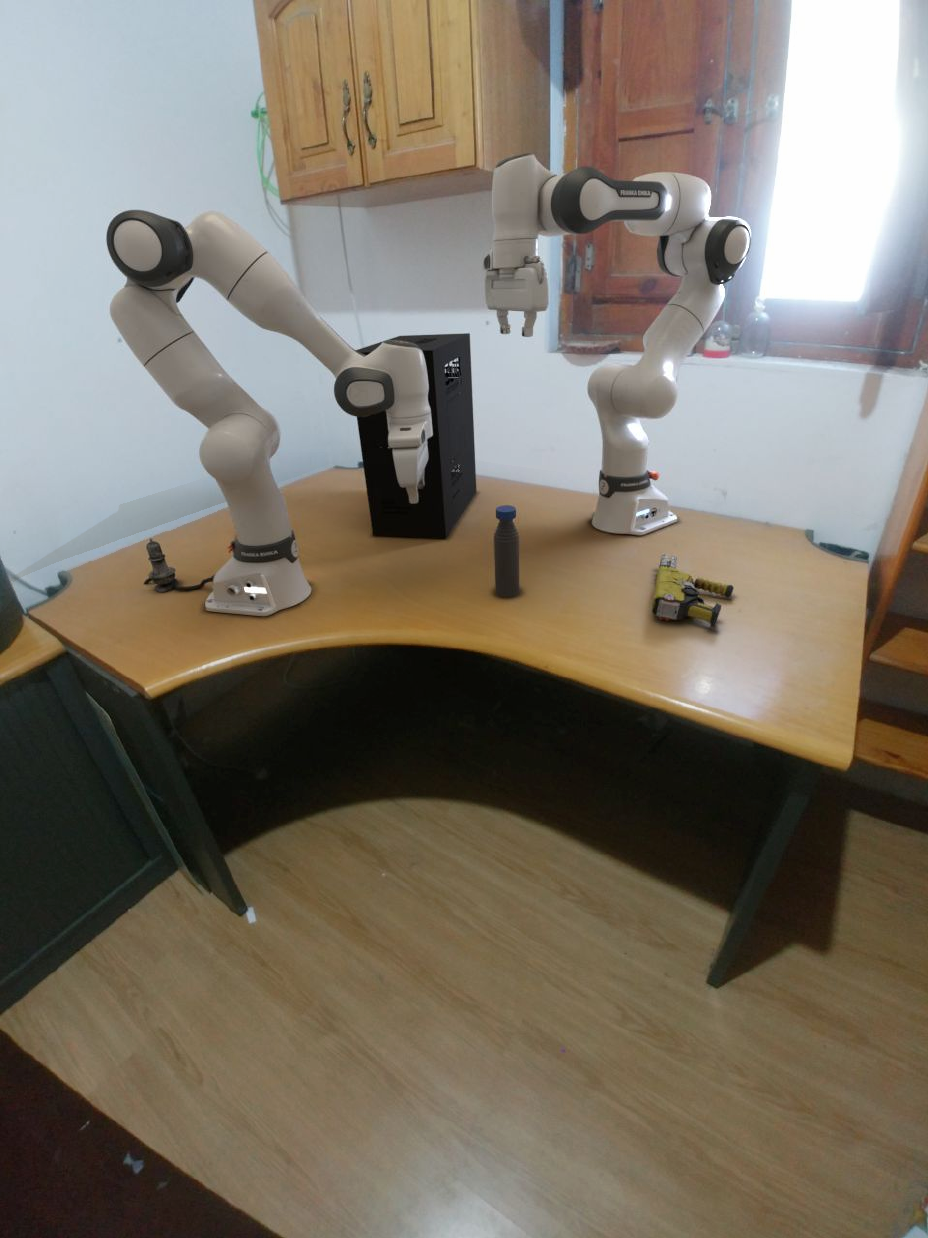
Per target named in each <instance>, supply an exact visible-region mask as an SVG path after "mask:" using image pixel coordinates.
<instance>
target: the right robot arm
mask: <svg viewBox="0 0 928 1238" xmlns="http://www.w3.org/2000/svg"><path fill="white" fill-rule="evenodd" d="M711 200H712V194H711V189H710V186H709V185H708V183H707V182H706V181H705V180H704V179H703V178H701V177H698V176H695V175H692V174H689V173H682V172H675V171H673V172H672V171H660V172H659V171H658V172H651V173H646V174H641V175H640V176H637V177H635V178H633V179H632V180H624V179H623V180H621V179H613V178H610V177H609V176H607V175H606V174H604V173H603V172H601V171H600V170H599V169H596V168H594V167H592V166H585V165H584V166H579V167H577V168H575V169H573V170H569V171H568V172H566V173H565V172H564V173H562V174H559V175H558V174H556V173H554V172H552V171H551V170H549V169H547V168H546V167H545V166H543V165H542V163H540V161H539V160H538V159H537V157H536V156H535V153H531V152H525V153H520V154H517V155H513V156H509V157H507V158H504V159H501V160H500V161H499V162H497V164H496V165H495V167H494V170H493V174H492V183H491V216H492V220H493V227H494V228H493V235H492V248H491V249H490V250H489V252H488V253H487V254H486V255H485V256H484V257H483V258H482V269H483V271H485V273H484V297H485V304H486V306H487V307H486V308H487V309H488V310H492V311H496V318H497V321H498V323H499V324H498V325H499V333H500V335H510V334H511V324H509V318H508V316H509V312H523V318H524V323H523V326H522V327H521V336H522V337H523V338H531V337H533V335H534V326H535V324H536V320H537V318H538V316H537V315H538V314H537V313H540V312H546V311H547V310H548V308H549V307H548V306H549V303H550V297H549V296H550V295H549V279H548V278H549V277H548V273H547V269H546V268H545V263H544V262H543V260H542V258H541V256H539V236H542V237H546V238H547V237H549V238H550V237H557V236H558V237H560V236H566V235H567V236H568V235H585V234H586V235H587V234H589V233H592V232H594V231H595V230H597V229H598V228H600V227H602V226H603V225H605V224H606V223H608V222H623V224H624V226H625V227H626V230H628V232H629V233H631V234H634V235H639V236H645V237H658V242H657V248H656V259H657V264H658V267H659V269H660V270H661V271H662V272H663V273H664V274H666V275H669V276H672V277H682V279H681V283H680V285H679V287H678V289H677V291H676V292H675V294H674V295H673V296H672V297H671V298H670V300H669V301H668V302H667V303H666V305H665V306H664V307H663V308H662V310H661V311H660V313H659V314H658V315H657V316H656V318H655V319H654V320H653V322H652V323H651V324H650V326H649V327H647V330H646V331H645V332H644V335H643V337H642V345H643V350H644V351H643V353H642V356H641V358H640V359H639V360H638V361H637V363H635V364H625V363H619V362H615V363H614V362H613V363H607V364H604V365H601V366H597V368H595V369H594V371H593V372H591V374H590V376H589V378H588V380H587V395H588V398H589V399H590V401H591V402H592V404H593V406H594V408H595V411H596V414H597V417H598V418H597V419H598V421H599V427H600V432H601V440H602V447H601V448H602V449H601V450H602V451H601V468H600V470H599V474H598V492H599V493H598V498H597V502H596V507H595V511H594V514H593V517H592V520H591V525H592V526H593V527H594V528H595V529H597V530H599V531H601V532H605V533H611V534H623V535H625V534H626V535H632V536H633V535H634V536H645V535H646V534H650V533H652V532H654V531H657V530H660V529H662V528H665V527H668V526H670V525H672V524H675V523H677V522H678V516H677V515H676V514H675V513H674V512H672V511H670V503H669V502H670V501H669V498H668V497H667V495H665V494H664V493H663V492H661V491H660V490H659V489H658V488H656V487H655V486H654V485H652V483H651V480H653V481H658V479H659V478H660V473H659V472H657V471H654V470H651V471H649V470H648V469H647V466H648V458H649V457H648V455H649V446H650V441H649V437H648V435H647V434H646V432H645V431H644V429H643V427H642V424H641V420H656V419H662V418H664V417H666V416H667V415H669V413H670V412H671V411H672V410H673V408H674V406H675V405H676V402H677V399H678V395H679V389H678V388H679V387H678V383H677V377H678V373H679V371H680V368H681V366H682V365H683V363H684V361H685V359H686V358H687V357H688V355H689V354H690V353H691V352H692V350H693V348H694V347H695V346H696V345H697V343H698V342H699V340H701V338H702V337H703V336H704V335H705V333H706V331H707V330H708V328H709V327H710V325H711V324H712V322H713V321H714V319H715V318H716V316H717V315H718V313H719V311H720V309H721V307H722V305H723V303H724V300H725V288H724V285H725V284H727V283H729V282H730V281H732V280H733V279H734V278H735V275H736V274H737V271H738V270H739V269H740V268H741V267H742V265H743V263H744V262H745V260H746V258H747V256H748V254H749V252H750V249H751V243H752V231H751V228H750V225H749V224H748V223H747V222H746V221H745V220H743V219H741V218H738V217H736V216H724V217H710V215H709V210H710V207H711Z"/></svg>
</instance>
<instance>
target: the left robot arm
mask: <svg viewBox="0 0 928 1238" xmlns="http://www.w3.org/2000/svg"><path fill="white" fill-rule="evenodd" d="M105 238H106V239H105V241H106V247H107V252H108V254H109V256H110V258H111V261H112V262H113V264H114V266H115V267H116V268H117V270H119V272H121V274H122V275H123V276H125V277H126V283H125V284H124V287H122V288H121V289H119V290H118V291H117V292H116V293H115V294H114V296H113V297H112V299H111V302H110V304H109V314H110V317H111V320H112V322H113V324H114V325H115V327H116V329H117V331H118V333H119V334H120V335H121V337H122V339H123V340H124V342H125V343H126V345H127V346H128V348H129V349H130V350H131V352H132V353H133V355H134V356H135V358H136V359H137V361H139V363H140V364H141V365H142V367H143V368H144V369H145V370H146V371H147V372H148V374H149V375H150V376H151V377H152V379H153V380H154V381H155V382H156V383H157V386H159V387H160V388H161V390H162V391H163V392H164V394H165V395H166V396H167V397H168V399H170V401H171V402H172V403H173V404H174V405H175V406H176V407H177V408H179V409H181V410H182V411H185V412H187V413H188V414H190V415H191V416H192V417H194V418H195V419H196V420H197V421H198V422H200V423H201V424H202V425H204V426H205V427H206V428H207V431H205V433H204V436H203V438H202V440H201V442H200V445H199V449H198V450H199V451H198V455H199V460H200V462H201V465H202V467H203V469H204V470H205V471H206V472H207V474H208V475H210V476H211V477H212V478H213V479H214V480H215V482H216V483H217V486H218V487H219V489H220V492H221V493H222V496H223V497H224V499H225V501H226V504H227V507H228V510H229V513H230V516H231V520H232V521H231V522H232V524H233V528H234V532H235V536H234V539H233V540H231V541H230V544H229V545H228V546H227V550H228V551H227V553H231V552H232V556H231V557H230V558H229V559H228V560H227V561H226V562H225V563H224V564H223V565H222V566H221V567H220V568H219V569H218V570H217V571H216V573H215V574H213V575H212V576H210V577H207V578H204V579H203V580H202V581H201V582H200V583H199V584H195V585H191V586H181V585H178V583H179V580H178V579H177V578H176V577H175V578H174V580H173V581H174V589H175V590H178V591H194V590H198V589H201V588H203V587H204V586H205V585H206V584H207V583H211V582H212V583H211V584H212V591H211V592H210V593H209V595H208V596H207V598H206V599H205V602H204V606H205V610H206V611H207V612H212V613H213V612H214V613H223V614H233V615H244V616H254V617H255V616H256V617H268V616H270V615H273V614H275V613H277V612H278V611H281V610H285V609H288V608H291V607H294V606H296V605H298V604H301V603H302V602H304V601H305V600H306V599H308V597H309V596H311V593H312V586H311V585H310V583H309V581H308V579H307V578H306V575H305V573H304V570H303V568H302V564H301V562H300V559H299V547H298V541H297V539H296V535H295V531H294V530H293V529H292V526H291V521H290V516H289V512H288V507H287V501H286V497H285V495H284V493H283V492H282V491H281V490H280V488H279V486H278V484H277V482H276V479H275V477H274V475H273V471H272V468H271V458H272V457H274V455H275V454H276V453H277V451H278V449H279V448H280V447H279V446H280V443H281V427H280V424H279V422H278V420H277V418H276V417H275V416H274V414H273V413H271V412H270V411H268V410H267V409H265V408H263V407H262V406H261V405H260V404H259V403H258V402H256V400H255V399H254V398H253V397H251V395H250V394H249V393H248V392H247V391H246V390H245V389H243V387H241V386H240V385H239V384H238V383H237V382H236V381H235V380H234V379H233V378H232V376H230V375H229V373H228V372H227V371H226V370H225V369H224V368H223V366H222V365H221V364H220V362H219V361H218V360H217V359H216V357H215V356H214V355H213V354H212V353H211V351H210V350H209V348H208V347H207V346H206V345H205V343H204V342H203V340H202V339H201V338H200V336H199V335H198V334H197V333H196V331H195V330H194V329H193V327H192V326H191V325H190V323H189V321H188V320H186V318H185V317H184V315H183V314H182V312H181V311H180V308H179V307H178V303H179V302H181V300H182V298H183V297H184V296H185V293H186V292H187V291H188V289H189V288H190V287H191V285H192V284H193V281H194V280H195V278H196V279H200V280H202V281H204V282H206V283H207V284H209V285H210V286H211V287H212V288H213V289H214V290H215V291H216V292H218V293H219V294H220V296H222V298H223V299H225V300H226V301H227V302H228V303H229V304H230V305H231V307H233V308H234V309H235V310H236V311H237V312H239V313H240V314H241V315H242V316H243V317H245V318H246V319H248V320H249V321H250V322H251V323H253V324H255V326H257V327H259V328H260V329H262V330H266V331H270V332H274V333H278V334H282V335H284V336H287V337H288V338H290V339H293V340H294V341H296V342H297V343H299V344H300V345H301V346H303V347H304V348H305V349H306V350H307V351H308V352H309V353H311V355H313V357H315V358H316V359H317V360H318V361H319V362H320V363H321V364H322V365H323V366H324V367H325V368H326V369H328V371H330V372H331V374H332V375H333V376H334V378H335V381H334V385H333V395H334V399H335V401H336V403H337V406H338V407H340V409H341V410H342V411H343V412H345V414H347V415H350V416H352V417H356V418H357V417H365V416H369V415H372V414H376V413H379V412H382V411H386V414H387V422H388V431H389V434H388V444H389V447H390V448H393V459H394V464H395V470H396V475H397V479H398V483H399V485H400V487H406V490H407V492H408V495H409V502H410V503H411V504H413V503H418V501H419V495H418V491H417V489H423V487H424V469H425V466H426V464H427V462H428V446H427V444H428V442H427V439H428V438H430V437H432V436H433V430H432V418H431V409H430V406H429V403H428V391H429V384H428V375H427V368H426V362H425V358H424V354H423V352H422V350H421V349H420V348H419V347H418V346H417V345H416V344H414V343H412V342H408V341H402V340H388V339H385V340H386V341H385V340H383V342H382V341H381V342H382V344H381V345H380V346H379V347H378V348H377V349H375V350H374V351H373V352H371V353H370V354H368V355H364V354H362V353H360V352H358V351H356V350H357V349H354V348H353V347H352V346H351V345H349V343H348V342H346V341H345V340H344V339H343V337H341V336H340V335H339V334H338V333H337V332H336V331H335V330H334V329H333V328H332V327H331V326H330V325H329V324H328V323H327V322H326V321H325V320H324V319H323V318H322V317H321V316H320V315H319V314H318V313H317V312H316V311H315V309H314V308H313V307H312V305H311V304H310V303H309V301H308V300H307V298H306V297H305V295H303V293H302V291H300V289H299V288H298V286H297V285H296V284H295V282H294V280H293V279H292V278H291V276H290V275H289V274H288V272H287V271H286V270H285V269H284V268H283V266H281V264H280V263H279V262H278V261H277V259H276V258H274V256H273V255H272V254H271V253H270V252H269V251H268V250H267V249H266V248H265V247H264V246H263V245H262V244H261V243H260V242H259V241H258V240H257V239H255V237H254V236H252V235H251V234H250V233H248V232H247V231H246V230H245V229H244V228H243V227H241V226H240V225H239V224H238V223H236V222H235V221H234V220H233V219H231V218H229V217H228V216H227V215H226V214H224V213H222V212H220V211H218V210H217V211H216V210H208V211H204V212H202V213H199V214H198V215H197V216H196V217H195V218H193V219H192V221H191V222H190V223H189V224H188V225H187V226H184V225H183V224H182V223H181V222H179V221H177V220H175V219H172V218H168V217H165V216H162V215H161V214H160V215H159V214H157V213H154V212H151V211H147V210H143V209H129V210H124V211H121V212H120V213H118V214H116V215H115V216H114V217H113V218H112V219H111V221H110V222H109V224H108V227H107V230H106V237H105ZM151 582H153V581H152V580H151V578H149V577H148V578H146V579H145V580H144V582H143V585H149V583H151Z"/></svg>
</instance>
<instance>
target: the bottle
mask: <svg viewBox="0 0 928 1238" xmlns="http://www.w3.org/2000/svg"><path fill="white" fill-rule="evenodd" d="M493 559H494V560H493V563H494V593H495V595H496V596H497V597H500V598H504V599H510V598H511V599H512V598H515V597H516V596H518V595H520V535H519V532H518V528H517V526H516V525H515V522H514V519H513V520H508V521H503V520H499V519H498V523H497V525H496V529H495V532H494V533H493Z"/></svg>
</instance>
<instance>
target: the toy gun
mask: <svg viewBox="0 0 928 1238" xmlns="http://www.w3.org/2000/svg"><path fill="white" fill-rule="evenodd" d="M669 559H670V560H669ZM677 562H678V557H677V556H676V555H672V554H671V557H669V554H668V553H667V554H666V553H664V554H661V557H660V562H659V565H658V570H657V575H656V578H655V583H654V584H655V585H654V591H653V597H652V604H651V609H650V610H651V614H652V615H653V616H654V617H655V616H656V617H659V619H660V620H661V621H663V620H665V621H669V620H675V621H678V620H683V619H684V618H686V617H689V618H695V619H699V620H701V621H703V622H707V623H710V628H715V627H716V624H717V622H718V619H719V616H720V613H721V610H722V604H719V603H718V602H716V603H715V604H714V606H711V605H707V604H706V603H705V600H704V599H703V598H701V597H700V593H699V590H702V591H704V592H707V591H708V593H714V594H716V595H721V596H722V597H726V598H731V597H732V594H733V591H734V586H733V584H726V583H725V584H723V583H722V582H716V580H712V581H711V580H709V579H707V578H706V579H703V578H702V577H697V578H696V579H693V576H692V575H691V574H690V573H687V572H683V571H680V570H678V569H677Z"/></svg>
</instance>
